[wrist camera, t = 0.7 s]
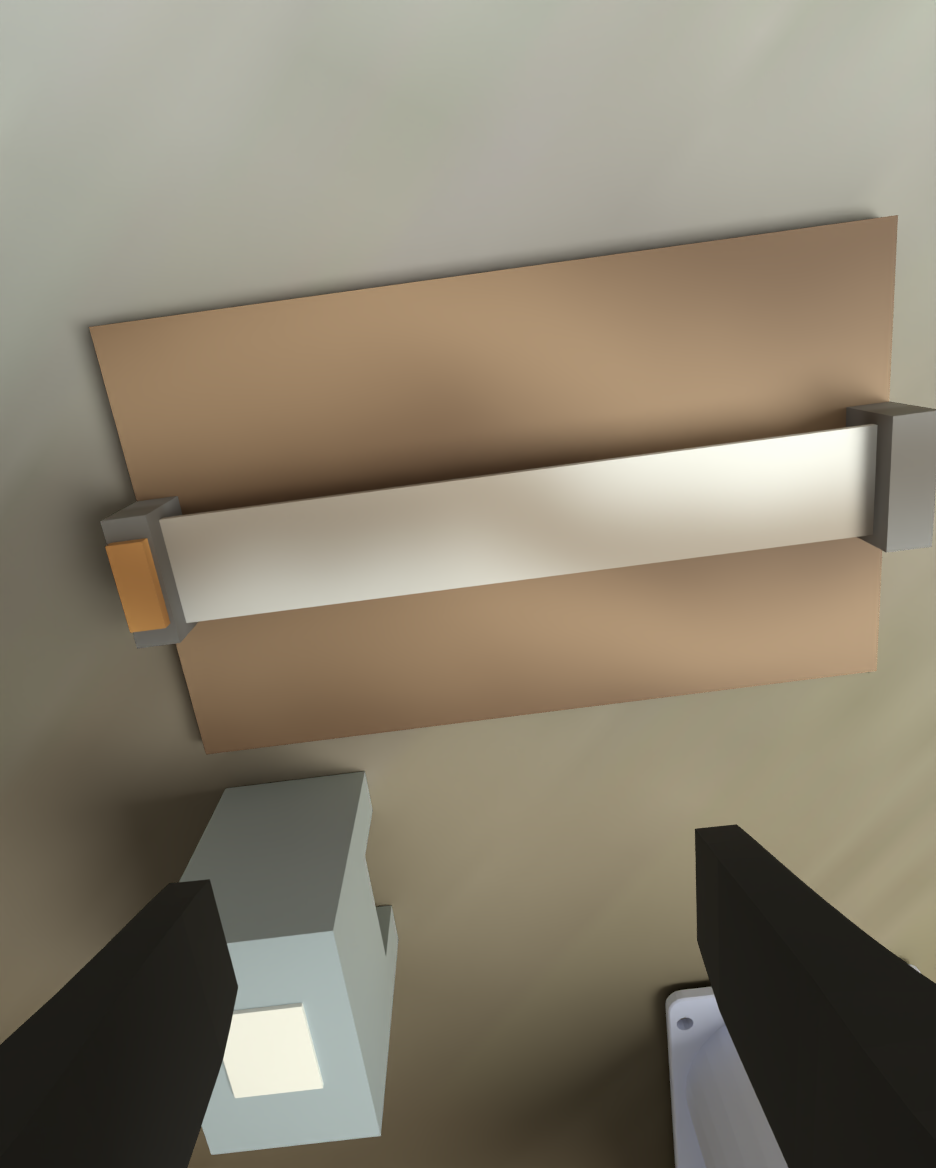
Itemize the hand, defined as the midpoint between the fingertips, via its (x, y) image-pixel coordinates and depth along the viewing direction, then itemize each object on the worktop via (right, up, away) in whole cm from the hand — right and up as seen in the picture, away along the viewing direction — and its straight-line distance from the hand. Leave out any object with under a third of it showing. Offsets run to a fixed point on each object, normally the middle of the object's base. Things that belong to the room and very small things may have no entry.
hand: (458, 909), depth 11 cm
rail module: (-4, -4, +11) cm, 13 cm away
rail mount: (+1, +7, +8) cm, 10 cm away
